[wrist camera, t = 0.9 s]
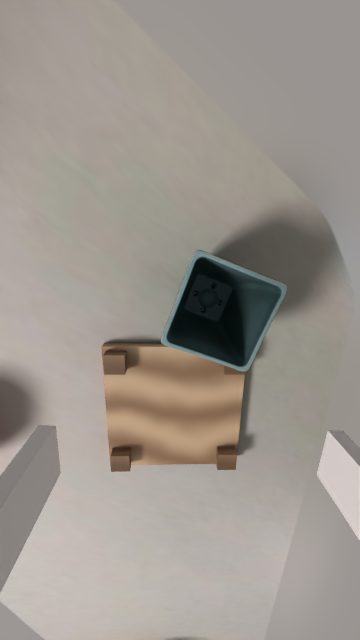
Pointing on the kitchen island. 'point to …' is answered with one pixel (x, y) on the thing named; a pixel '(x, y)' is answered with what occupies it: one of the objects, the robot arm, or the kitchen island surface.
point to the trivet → (170, 407)
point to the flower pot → (222, 311)
